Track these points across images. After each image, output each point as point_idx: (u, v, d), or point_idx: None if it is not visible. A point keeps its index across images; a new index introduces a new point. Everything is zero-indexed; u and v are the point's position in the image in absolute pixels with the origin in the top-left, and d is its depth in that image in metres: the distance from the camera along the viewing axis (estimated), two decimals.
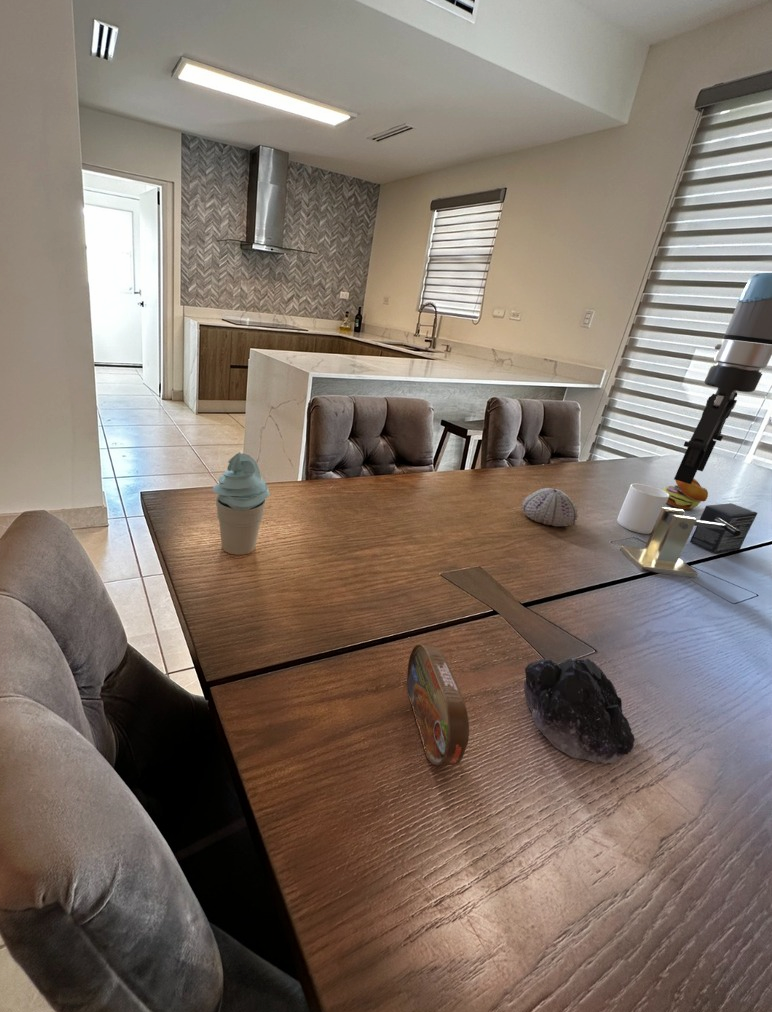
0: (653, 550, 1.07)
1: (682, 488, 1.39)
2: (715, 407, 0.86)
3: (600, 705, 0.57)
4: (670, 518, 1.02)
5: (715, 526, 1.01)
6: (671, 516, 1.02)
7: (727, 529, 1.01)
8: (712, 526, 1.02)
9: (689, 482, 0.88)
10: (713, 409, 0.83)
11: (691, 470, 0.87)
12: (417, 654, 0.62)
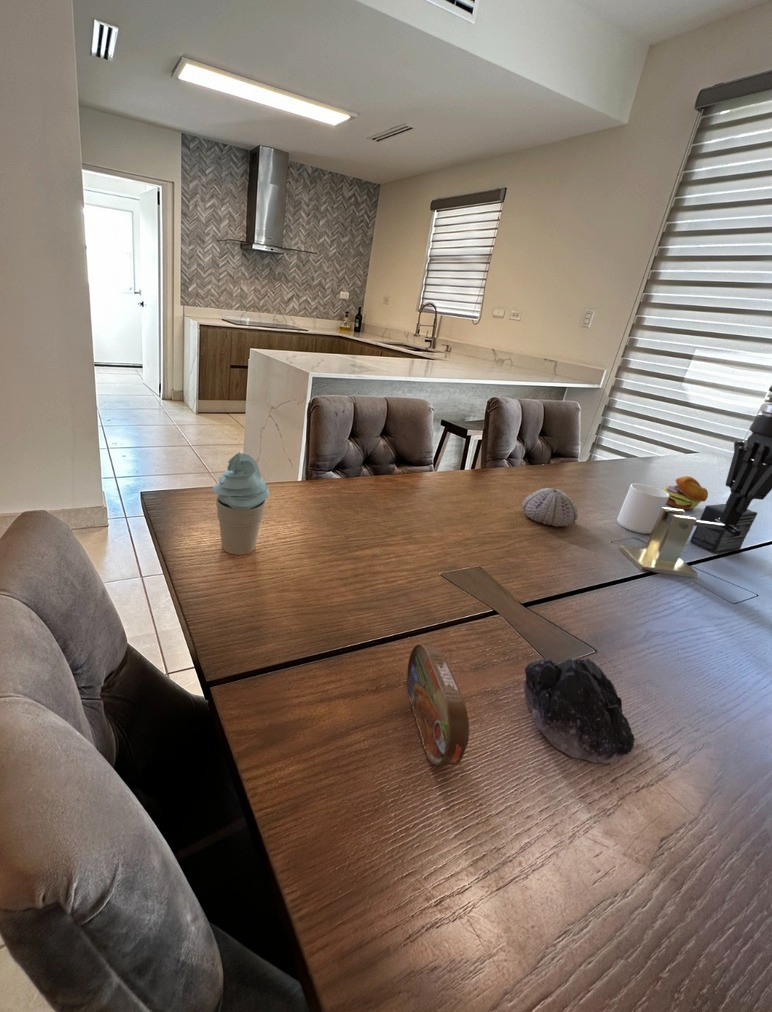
0: (653, 550, 1.07)
1: (682, 488, 1.39)
2: None
3: (600, 705, 0.57)
4: (670, 518, 1.02)
5: (715, 526, 1.01)
6: (671, 516, 1.02)
7: (727, 529, 1.01)
8: (712, 526, 1.02)
9: (735, 524, 1.01)
10: None
11: (738, 514, 1.00)
12: (417, 654, 0.62)
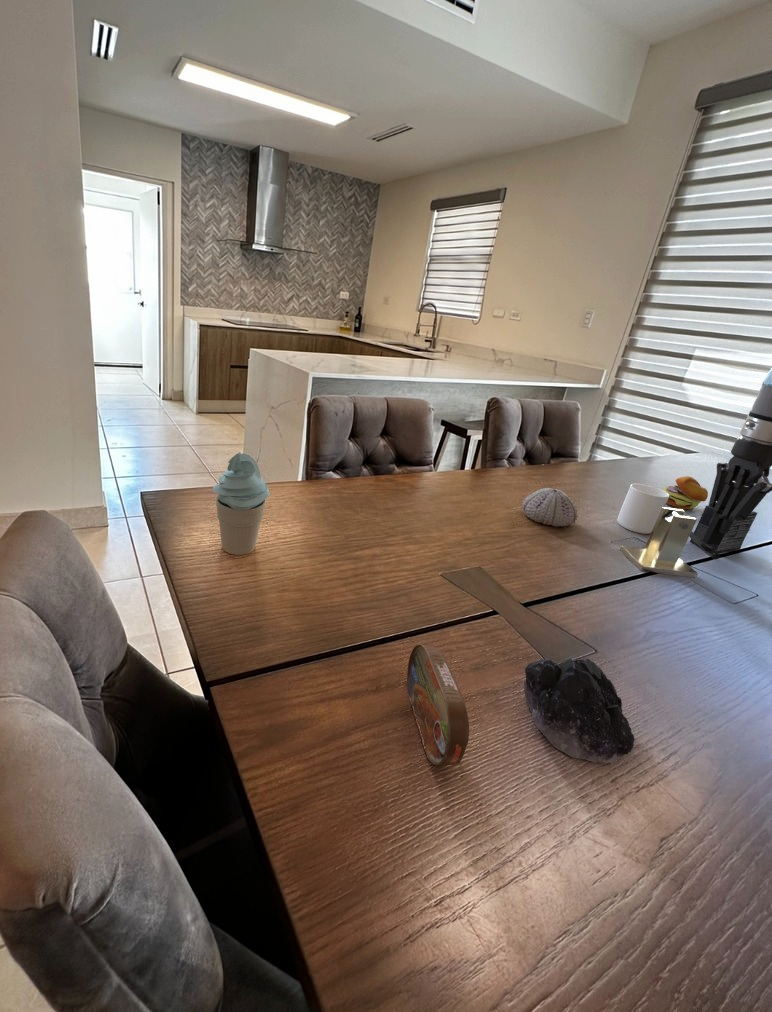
0: (653, 550, 1.07)
1: (682, 488, 1.39)
2: (754, 479, 0.95)
3: (600, 705, 0.57)
4: None
5: (700, 543, 1.03)
6: (675, 514, 1.02)
7: (708, 550, 1.03)
8: (698, 542, 1.03)
9: (718, 544, 1.03)
10: (758, 494, 0.93)
11: (720, 534, 1.02)
12: (417, 654, 0.62)
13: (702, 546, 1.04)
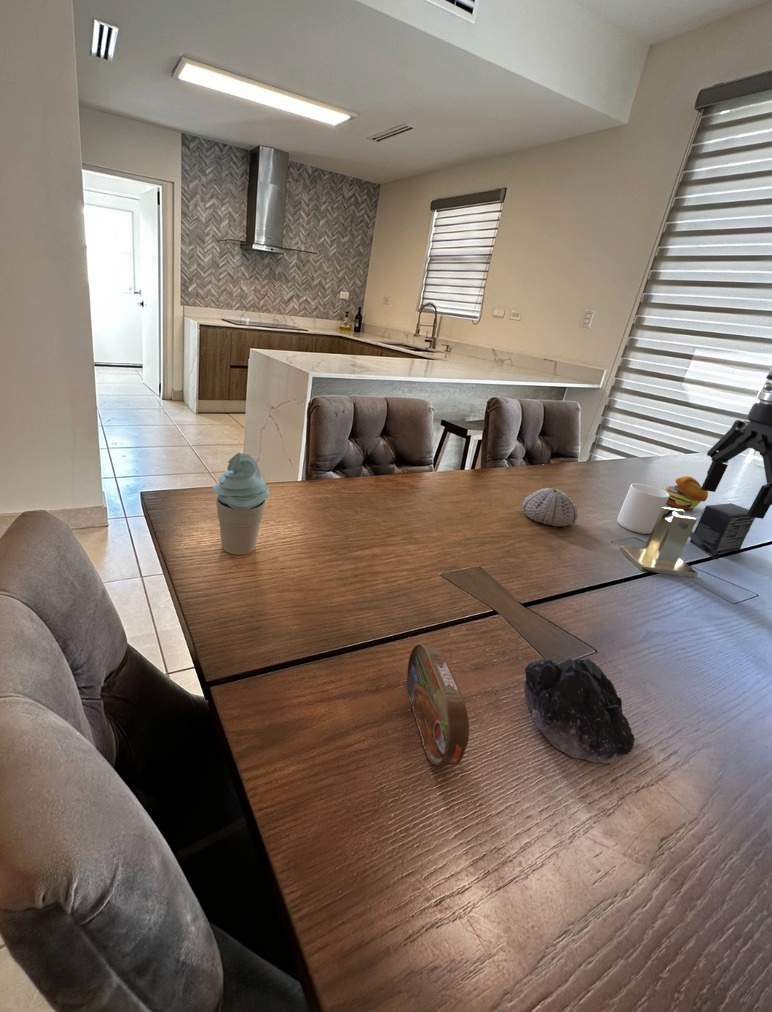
0: (653, 550, 1.07)
1: (682, 488, 1.39)
2: None
3: (600, 705, 0.57)
4: None
5: (700, 543, 1.03)
6: (675, 514, 1.02)
7: (708, 550, 1.03)
8: (698, 542, 1.03)
9: (762, 517, 0.93)
10: None
11: (765, 506, 0.92)
12: (417, 654, 0.62)
13: (702, 546, 1.04)
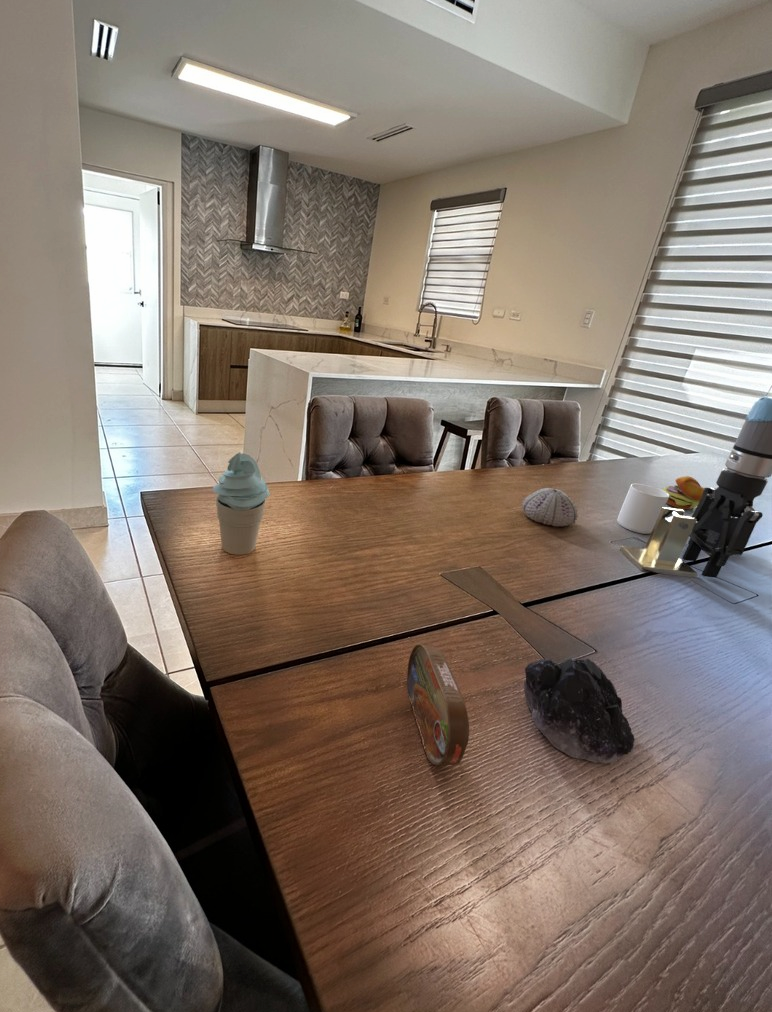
0: (653, 550, 1.07)
1: (682, 488, 1.39)
2: (739, 510, 0.97)
3: (600, 705, 0.57)
4: None
5: (700, 543, 1.03)
6: (675, 514, 1.02)
7: (708, 550, 1.03)
8: (698, 542, 1.03)
9: (715, 576, 1.03)
10: (748, 524, 0.95)
11: (717, 567, 1.02)
12: (417, 654, 0.62)
13: (702, 546, 1.04)
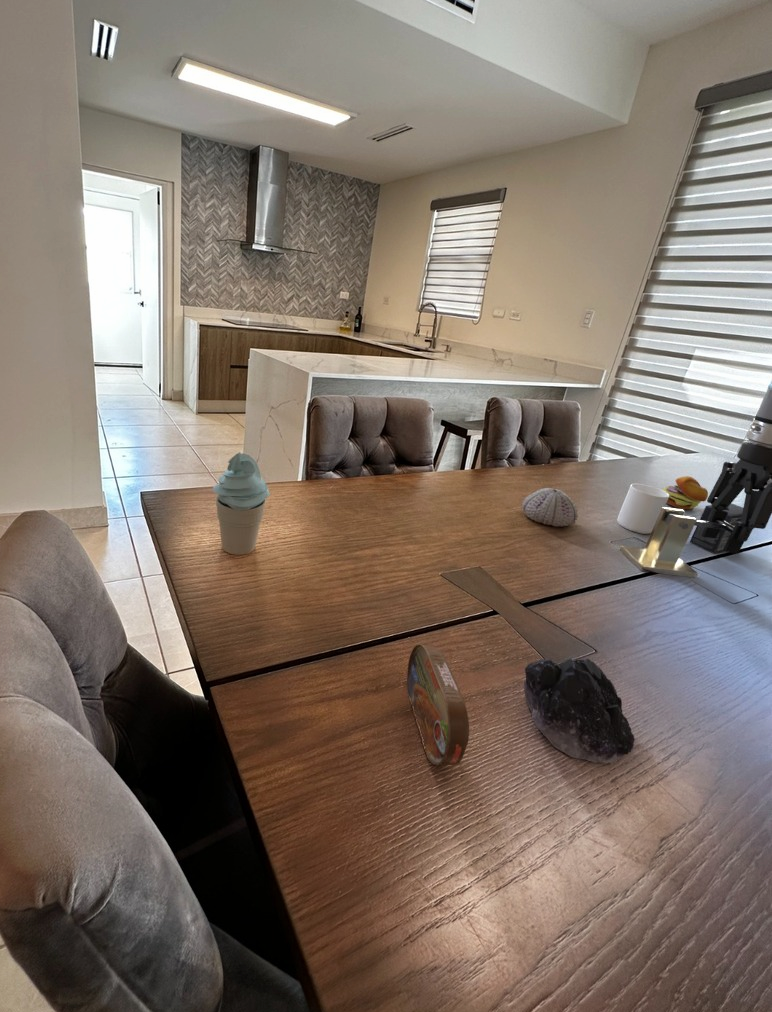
0: (653, 550, 1.07)
1: (682, 488, 1.39)
2: None
3: (600, 705, 0.57)
4: (670, 518, 1.02)
5: (715, 526, 1.01)
6: (671, 516, 1.02)
7: (727, 529, 1.01)
8: (712, 526, 1.02)
9: (737, 552, 1.00)
10: None
11: (739, 542, 0.99)
12: (417, 654, 0.62)
13: (719, 527, 1.02)
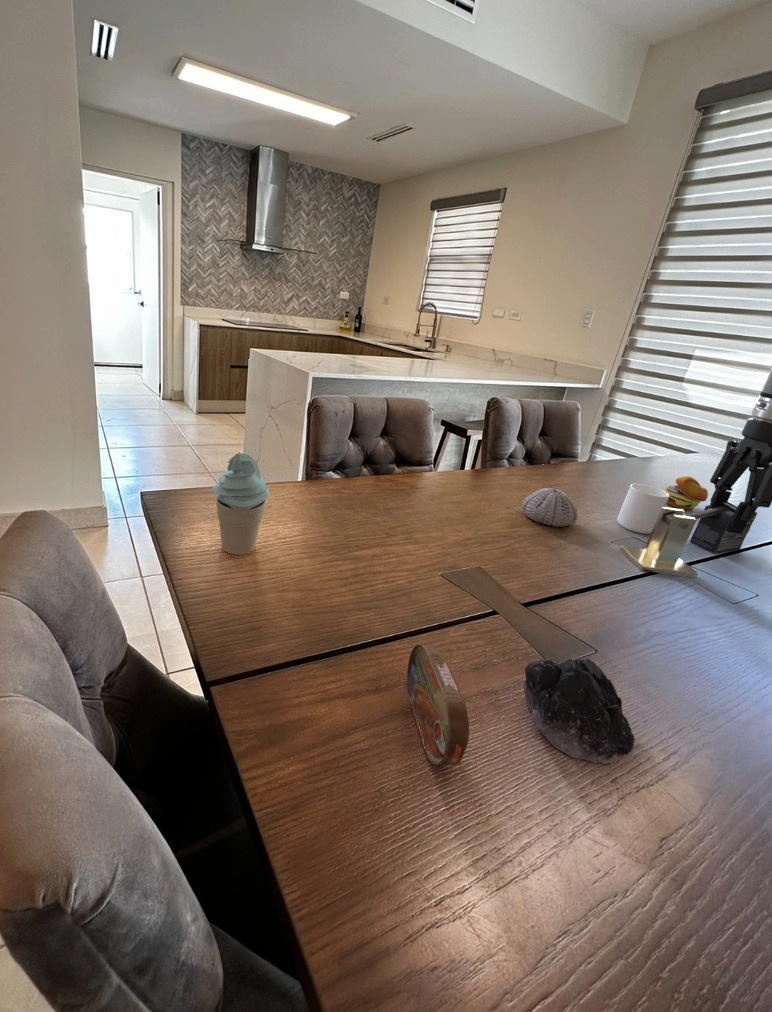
0: (653, 550, 1.07)
1: (682, 488, 1.39)
2: None
3: (600, 705, 0.57)
4: (669, 521, 1.02)
5: (718, 512, 1.00)
6: (669, 519, 1.02)
7: (732, 511, 0.99)
8: (715, 513, 1.00)
9: (740, 532, 0.98)
10: None
11: (743, 522, 0.97)
12: (417, 654, 0.62)
13: (723, 511, 1.00)
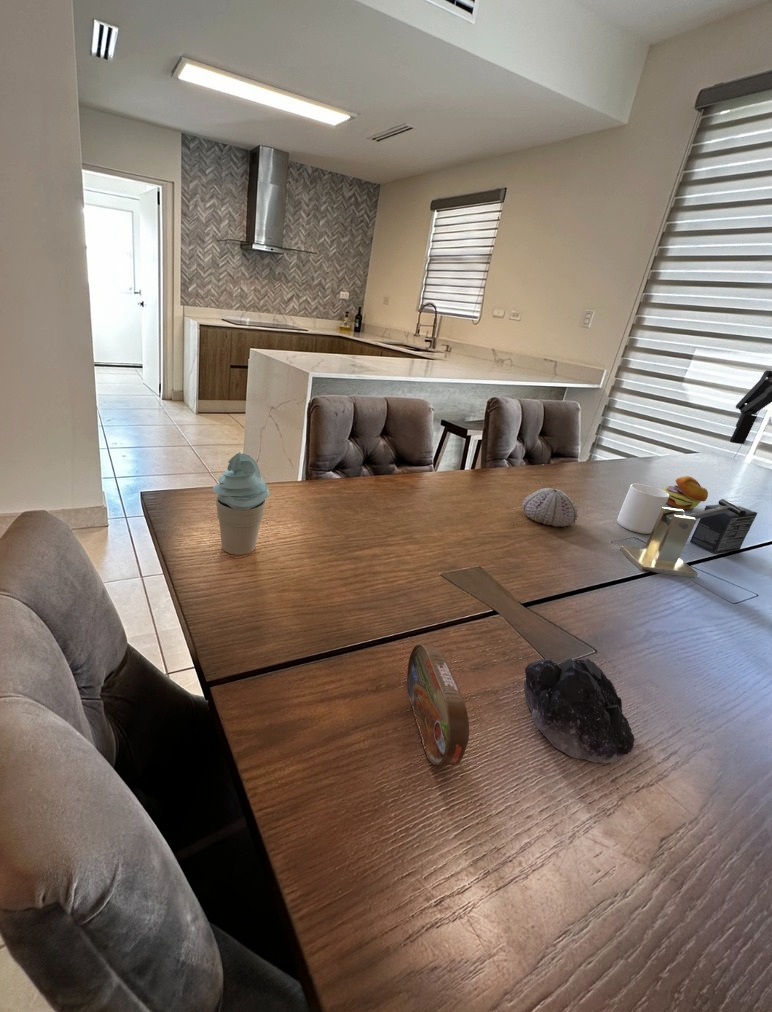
0: (653, 550, 1.07)
1: (682, 488, 1.39)
2: None
3: (600, 705, 0.57)
4: (669, 521, 1.02)
5: (718, 512, 1.00)
6: (669, 519, 1.02)
7: (732, 511, 0.99)
8: (715, 513, 1.00)
9: None
10: None
11: None
12: (417, 654, 0.62)
13: (723, 511, 1.00)
